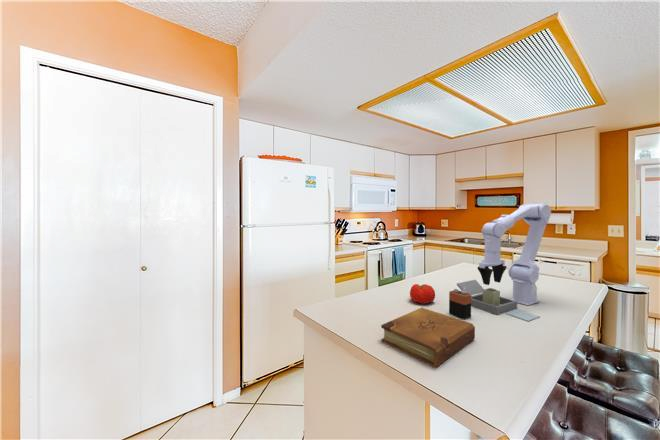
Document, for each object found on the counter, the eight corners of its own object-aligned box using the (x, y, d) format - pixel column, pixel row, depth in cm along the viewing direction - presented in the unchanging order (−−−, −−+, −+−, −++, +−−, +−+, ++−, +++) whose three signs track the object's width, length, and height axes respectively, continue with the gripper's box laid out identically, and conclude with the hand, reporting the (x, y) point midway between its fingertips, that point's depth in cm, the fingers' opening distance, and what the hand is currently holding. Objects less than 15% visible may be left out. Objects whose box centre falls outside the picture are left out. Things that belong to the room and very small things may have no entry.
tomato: (408, 304, 115) (408, 287, 115) (411, 296, 125) (411, 281, 125) (435, 307, 111) (435, 290, 111) (435, 299, 121) (435, 283, 121)
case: (475, 295, 125) (475, 279, 125) (517, 308, 109) (517, 289, 109) (455, 300, 119) (455, 283, 119) (496, 315, 103) (497, 295, 102)
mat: (517, 310, 107) (517, 309, 107) (539, 317, 100) (539, 316, 100) (505, 314, 103) (505, 313, 103) (528, 321, 96) (528, 320, 96)
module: (489, 304, 115) (489, 287, 114) (499, 307, 111) (500, 289, 110) (482, 305, 112) (482, 288, 112) (493, 309, 108) (493, 291, 108)
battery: (464, 320, 98) (464, 293, 98) (448, 313, 104) (448, 288, 104) (471, 317, 100) (471, 291, 100) (455, 311, 106) (455, 287, 106)
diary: (436, 370, 69) (436, 349, 69) (381, 342, 84) (381, 325, 83) (474, 341, 83) (474, 323, 83) (421, 322, 98) (421, 306, 98)
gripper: (493, 248, 118) (492, 278, 118) (472, 251, 111) (471, 283, 111) (510, 250, 111) (509, 282, 112) (489, 253, 105) (488, 287, 105)
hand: (491, 283), depth 111 cm, fingers open, 7 cm apart
